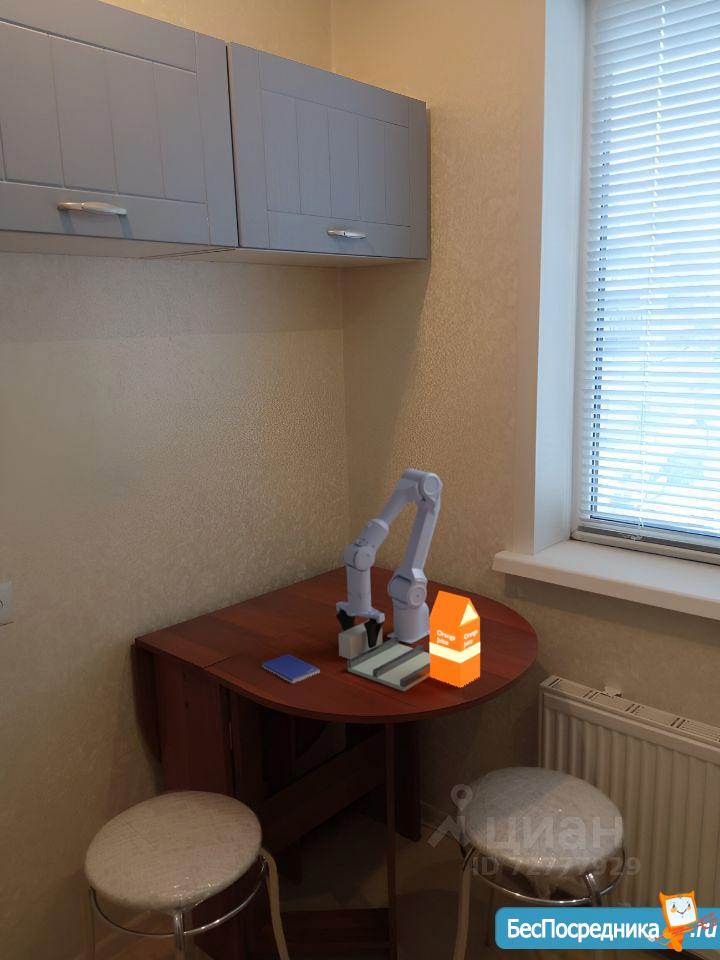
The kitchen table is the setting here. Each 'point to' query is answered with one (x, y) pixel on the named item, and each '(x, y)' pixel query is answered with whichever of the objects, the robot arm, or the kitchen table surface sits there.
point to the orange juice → (454, 640)
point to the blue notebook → (290, 668)
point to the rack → (392, 664)
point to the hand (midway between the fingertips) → (361, 642)
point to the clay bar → (355, 641)
